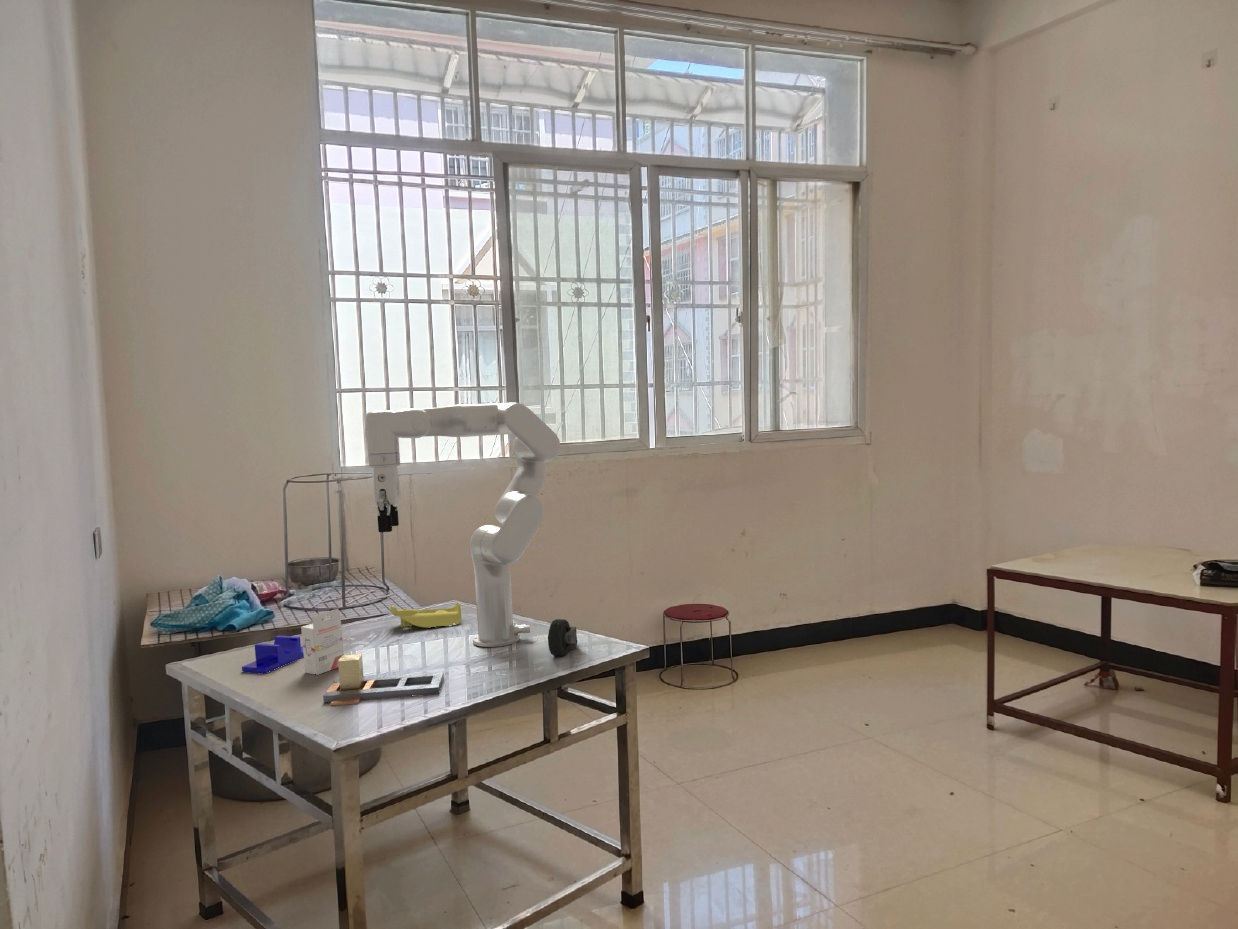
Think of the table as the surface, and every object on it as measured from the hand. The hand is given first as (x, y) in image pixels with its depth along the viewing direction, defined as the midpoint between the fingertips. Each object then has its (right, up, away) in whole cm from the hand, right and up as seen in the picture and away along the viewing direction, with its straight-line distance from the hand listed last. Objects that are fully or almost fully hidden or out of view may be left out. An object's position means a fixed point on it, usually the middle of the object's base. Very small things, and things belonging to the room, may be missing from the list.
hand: (388, 528), depth 208 cm
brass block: (-3, -36, -18) cm, 40 cm away
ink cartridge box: (-16, -35, +1) cm, 39 cm away
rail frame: (+4, -36, -17) cm, 40 cm away
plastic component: (0, -32, +40) cm, 51 cm away
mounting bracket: (-31, -36, +9) cm, 48 cm away
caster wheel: (+43, -32, +7) cm, 54 cm away
